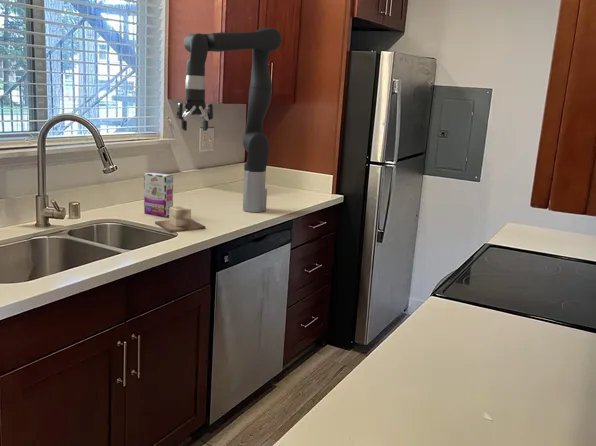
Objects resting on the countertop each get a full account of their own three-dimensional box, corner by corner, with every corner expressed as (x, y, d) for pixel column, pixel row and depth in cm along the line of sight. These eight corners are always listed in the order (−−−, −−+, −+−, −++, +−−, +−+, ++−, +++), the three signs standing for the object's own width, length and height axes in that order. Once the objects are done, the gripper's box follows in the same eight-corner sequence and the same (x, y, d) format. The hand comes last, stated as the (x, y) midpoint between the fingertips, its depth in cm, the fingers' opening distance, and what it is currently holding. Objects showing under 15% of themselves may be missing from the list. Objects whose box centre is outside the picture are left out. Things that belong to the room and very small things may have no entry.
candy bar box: (173, 215, 236) (173, 174, 232) (165, 217, 231) (165, 176, 227) (152, 211, 241) (152, 171, 237) (143, 213, 236) (143, 172, 232)
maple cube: (184, 221, 223) (184, 206, 222) (190, 225, 218) (191, 209, 217) (169, 222, 220) (169, 207, 218) (175, 226, 215) (175, 210, 214)
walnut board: (189, 220, 229) (189, 218, 229) (205, 228, 218) (205, 226, 217) (155, 223, 221) (155, 221, 221) (169, 232, 210) (169, 230, 210)
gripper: (207, 88, 232) (207, 129, 236) (174, 86, 224) (173, 129, 228) (216, 89, 227) (215, 131, 230) (182, 87, 218) (181, 131, 222)
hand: (194, 130), depth 229 cm, fingers open, 8 cm apart
